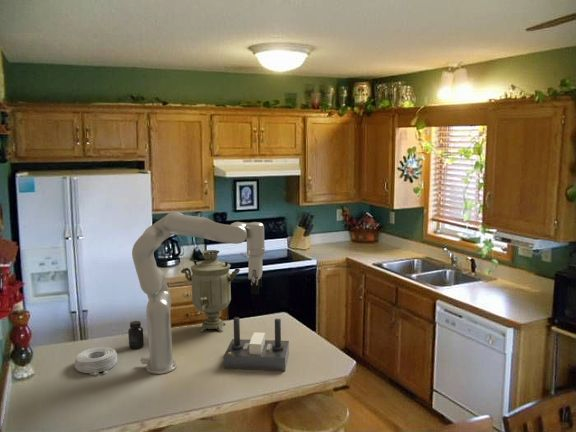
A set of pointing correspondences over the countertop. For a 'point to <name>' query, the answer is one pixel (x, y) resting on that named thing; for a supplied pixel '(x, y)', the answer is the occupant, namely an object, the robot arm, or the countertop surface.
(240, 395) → the countertop surface
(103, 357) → the cable
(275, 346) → the black toggle lever
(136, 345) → the supplement bottle
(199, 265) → the samovar
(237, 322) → the dark grey upright post
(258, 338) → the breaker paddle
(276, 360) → the gray switch control box
